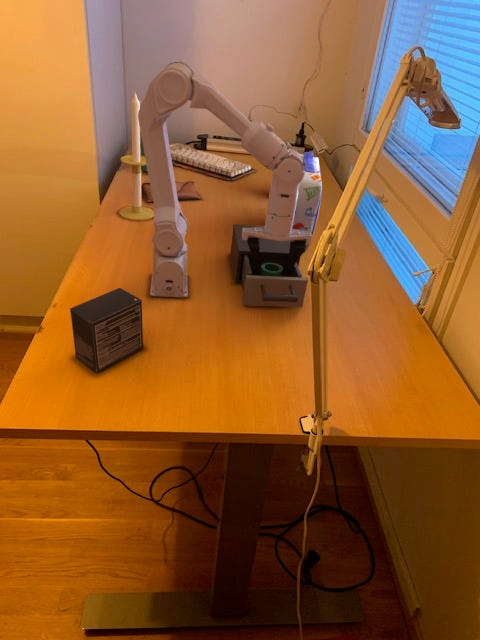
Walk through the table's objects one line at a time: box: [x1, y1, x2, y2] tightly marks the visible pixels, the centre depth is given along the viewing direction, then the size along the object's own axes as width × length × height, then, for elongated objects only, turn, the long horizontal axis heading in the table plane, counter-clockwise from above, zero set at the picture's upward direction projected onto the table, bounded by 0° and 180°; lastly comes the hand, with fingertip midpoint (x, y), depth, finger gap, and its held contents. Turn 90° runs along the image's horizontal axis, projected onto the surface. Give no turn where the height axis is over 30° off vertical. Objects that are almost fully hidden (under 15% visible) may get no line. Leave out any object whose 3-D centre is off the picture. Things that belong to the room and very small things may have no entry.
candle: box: [118, 90, 154, 221], centre depth 132 cm, size 10×10×32 cm
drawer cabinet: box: [229, 223, 301, 285], centre depth 118 cm, size 15×14×8 cm
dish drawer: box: [240, 254, 308, 308], centre depth 106 cm, size 19×13×7 cm
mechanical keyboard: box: [169, 142, 257, 181], centre depth 186 cm, size 38×19×3 cm, turn 61°
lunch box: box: [292, 151, 323, 250], centre depth 134 cm, size 28×10×22 cm, turn 176°
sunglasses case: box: [141, 180, 202, 203], centre depth 154 cm, size 18×7×7 cm
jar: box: [260, 263, 283, 277], centre depth 108 cm, size 5×5×5 cm
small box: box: [69, 287, 145, 374], centre depth 85 cm, size 11×6×10 cm, turn 141°
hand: (271, 270), depth 107 cm, fingers open, 7 cm apart
